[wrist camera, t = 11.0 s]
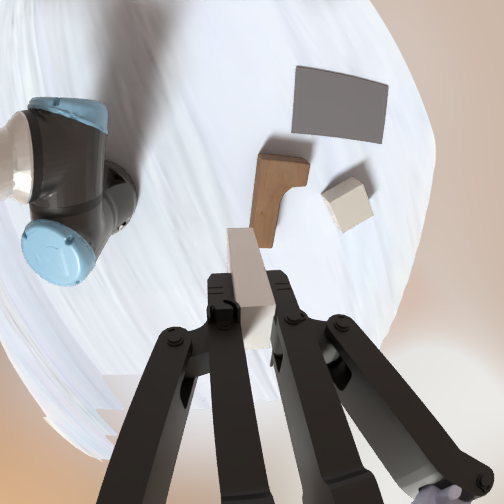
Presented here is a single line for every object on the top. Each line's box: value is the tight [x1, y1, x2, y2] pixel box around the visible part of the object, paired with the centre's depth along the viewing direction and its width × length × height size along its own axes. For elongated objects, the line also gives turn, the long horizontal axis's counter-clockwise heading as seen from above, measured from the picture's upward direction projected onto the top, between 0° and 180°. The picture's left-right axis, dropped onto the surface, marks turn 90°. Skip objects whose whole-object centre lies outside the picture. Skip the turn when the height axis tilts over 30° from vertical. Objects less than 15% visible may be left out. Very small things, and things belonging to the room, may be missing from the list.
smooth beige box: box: [321, 176, 374, 233], centre depth 55 cm, size 8×8×5 cm
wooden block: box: [249, 154, 310, 248], centre depth 53 cm, size 9×4×18 cm
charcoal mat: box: [291, 67, 388, 144], centre depth 45 cm, size 20×13×1 cm, turn 87°
